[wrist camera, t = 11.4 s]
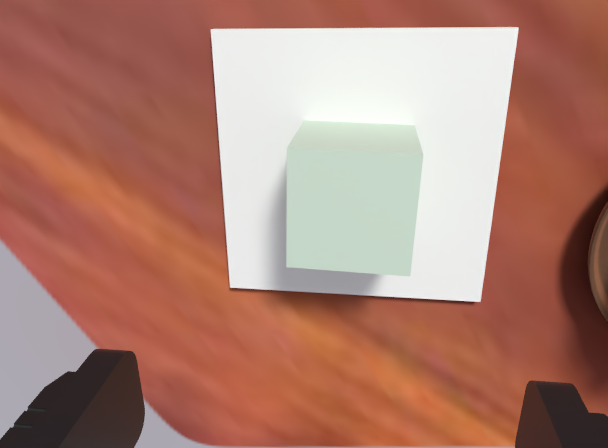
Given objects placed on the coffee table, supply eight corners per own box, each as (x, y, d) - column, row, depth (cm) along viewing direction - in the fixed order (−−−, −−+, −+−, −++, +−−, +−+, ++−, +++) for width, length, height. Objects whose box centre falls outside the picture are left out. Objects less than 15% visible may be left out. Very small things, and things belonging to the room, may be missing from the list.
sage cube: (302, 220, 26) (286, 267, 21) (304, 120, 24) (286, 147, 19) (404, 227, 25) (410, 276, 21) (414, 125, 23) (423, 154, 19)
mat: (232, 283, 29) (229, 287, 28) (213, 28, 23) (210, 29, 23) (478, 296, 27) (480, 301, 26) (515, 26, 22) (518, 27, 21)
